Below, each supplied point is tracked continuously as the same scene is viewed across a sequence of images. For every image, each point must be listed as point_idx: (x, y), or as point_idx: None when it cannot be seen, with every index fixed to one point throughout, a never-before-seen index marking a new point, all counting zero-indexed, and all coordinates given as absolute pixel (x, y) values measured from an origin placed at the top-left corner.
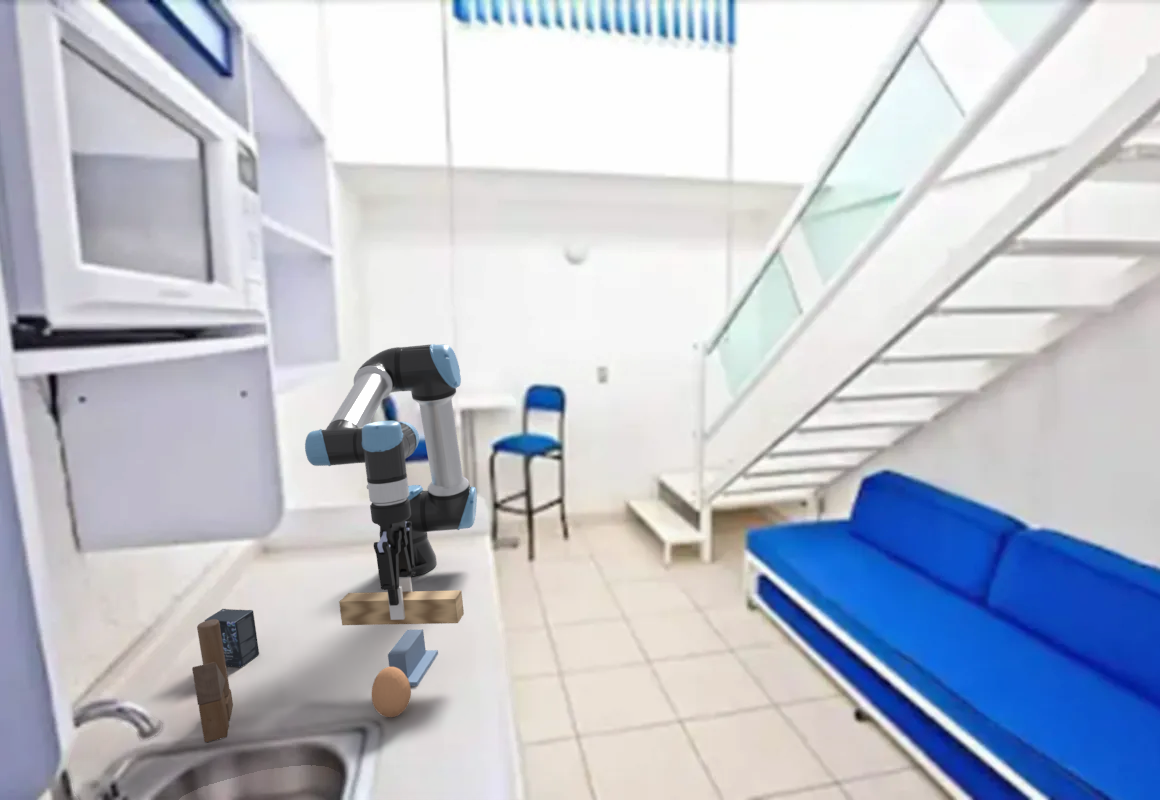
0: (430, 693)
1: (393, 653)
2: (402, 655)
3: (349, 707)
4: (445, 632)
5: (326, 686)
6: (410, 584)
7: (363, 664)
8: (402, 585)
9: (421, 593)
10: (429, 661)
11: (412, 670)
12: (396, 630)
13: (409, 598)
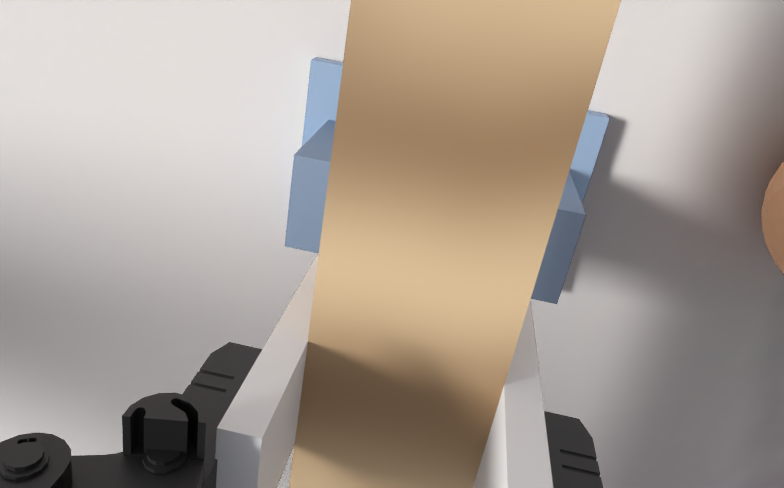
0: (697, 35)
1: (554, 277)
2: (581, 226)
3: (682, 362)
4: (101, 51)
5: None
6: (277, 381)
7: None
8: (282, 448)
9: (380, 234)
10: None
11: None
12: (86, 286)
13: (481, 335)
